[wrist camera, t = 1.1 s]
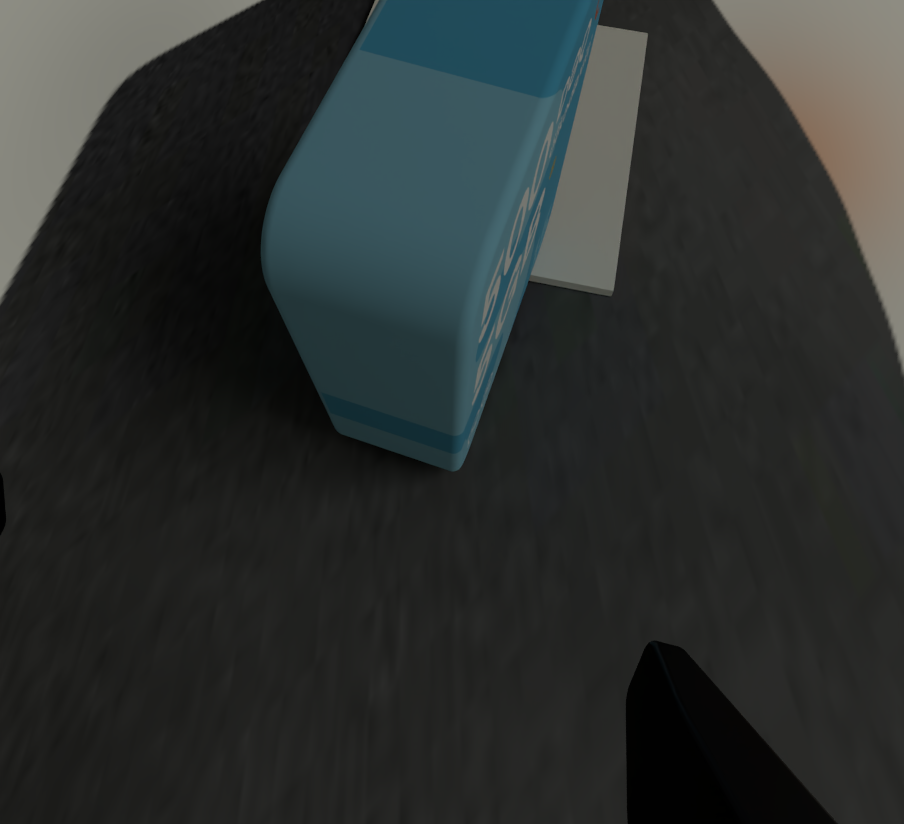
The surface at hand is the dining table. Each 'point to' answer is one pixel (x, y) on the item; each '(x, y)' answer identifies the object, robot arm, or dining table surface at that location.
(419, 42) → the blue rounded flat block
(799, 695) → the dining table surface
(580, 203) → the mat
